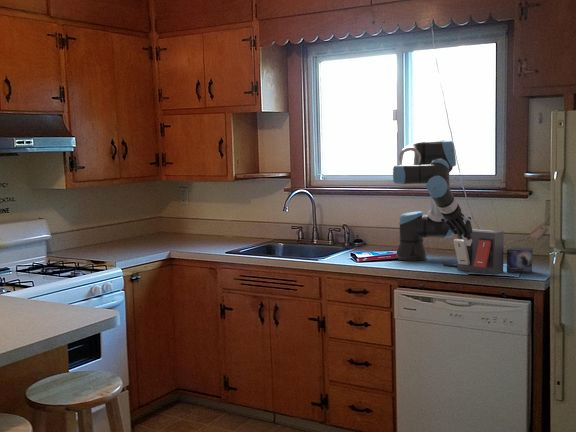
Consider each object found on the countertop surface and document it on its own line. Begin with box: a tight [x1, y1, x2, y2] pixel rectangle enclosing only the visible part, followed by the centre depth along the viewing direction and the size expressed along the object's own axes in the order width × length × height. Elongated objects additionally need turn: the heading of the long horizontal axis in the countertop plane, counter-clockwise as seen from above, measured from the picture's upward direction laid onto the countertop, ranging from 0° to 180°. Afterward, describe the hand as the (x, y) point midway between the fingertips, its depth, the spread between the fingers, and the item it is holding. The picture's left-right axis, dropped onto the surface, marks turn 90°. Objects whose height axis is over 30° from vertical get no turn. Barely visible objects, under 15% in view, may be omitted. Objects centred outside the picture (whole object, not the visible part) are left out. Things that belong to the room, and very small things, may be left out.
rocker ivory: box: [453, 238, 470, 265], centre depth 288 cm, size 5×2×12 cm, turn 46°
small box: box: [506, 246, 533, 275], centre depth 285 cm, size 11×6×10 cm, turn 69°
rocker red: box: [474, 240, 492, 268], centre depth 281 cm, size 5×2×12 cm, turn 46°
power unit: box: [442, 228, 505, 275], centre depth 293 cm, size 28×9×18 cm, turn 46°
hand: (469, 243), depth 272 cm, fingers closed
